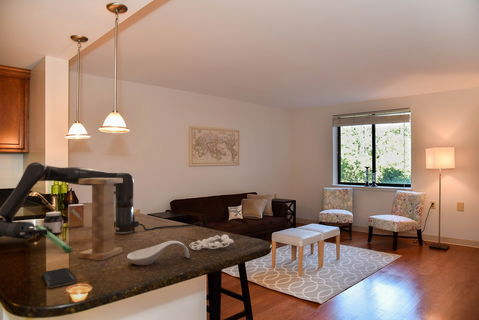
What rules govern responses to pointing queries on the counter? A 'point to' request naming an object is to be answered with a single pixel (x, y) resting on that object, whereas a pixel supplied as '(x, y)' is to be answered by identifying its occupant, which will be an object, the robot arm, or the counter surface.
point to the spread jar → (54, 222)
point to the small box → (76, 215)
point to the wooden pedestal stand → (102, 219)
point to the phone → (59, 277)
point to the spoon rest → (153, 253)
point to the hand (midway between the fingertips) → (48, 231)
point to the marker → (56, 240)
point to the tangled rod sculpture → (209, 241)
